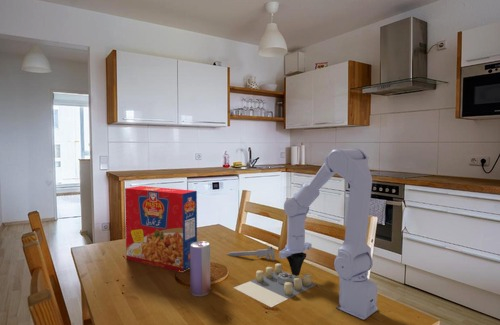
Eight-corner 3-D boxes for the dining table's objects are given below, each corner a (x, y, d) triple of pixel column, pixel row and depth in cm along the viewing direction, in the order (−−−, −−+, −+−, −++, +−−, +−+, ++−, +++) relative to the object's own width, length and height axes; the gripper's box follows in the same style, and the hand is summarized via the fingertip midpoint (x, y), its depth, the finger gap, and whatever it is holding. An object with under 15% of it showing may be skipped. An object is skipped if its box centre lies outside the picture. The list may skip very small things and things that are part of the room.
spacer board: (316, 287, 101) (317, 275, 101) (271, 310, 87) (271, 296, 87) (279, 272, 113) (279, 261, 113) (233, 290, 99) (233, 278, 99)
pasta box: (126, 259, 125) (125, 188, 124) (141, 253, 133) (140, 185, 131) (183, 272, 113) (182, 193, 111) (197, 265, 120) (196, 190, 118)
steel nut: (295, 282, 103) (295, 276, 103) (286, 286, 100) (286, 279, 100) (283, 277, 106) (283, 271, 106) (274, 281, 104) (274, 275, 103)
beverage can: (191, 298, 94) (191, 247, 93) (189, 289, 100) (189, 241, 99) (211, 295, 96) (211, 246, 95) (208, 287, 102) (208, 240, 101)
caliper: (275, 262, 123) (275, 246, 123) (274, 263, 122) (274, 247, 122) (227, 255, 132) (227, 239, 131) (226, 255, 131) (226, 240, 130)
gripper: (300, 228, 114) (299, 265, 115) (272, 235, 104) (271, 277, 105) (316, 232, 109) (316, 271, 109) (288, 240, 99) (288, 284, 100)
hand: (295, 274), depth 107 cm, fingers closed
